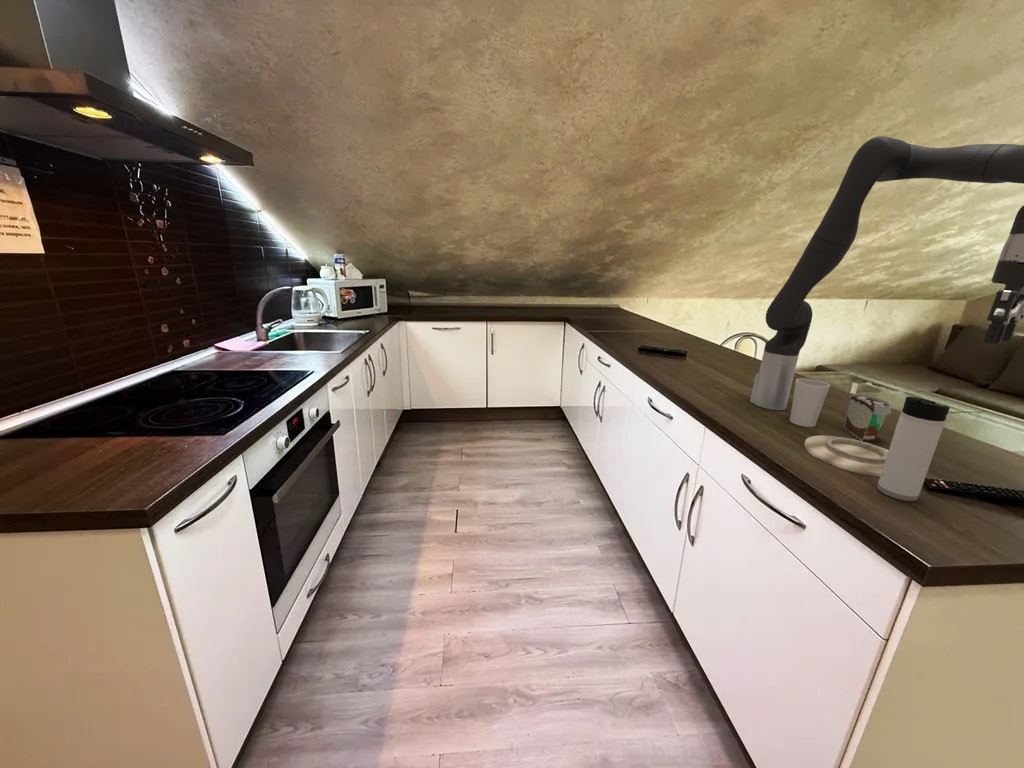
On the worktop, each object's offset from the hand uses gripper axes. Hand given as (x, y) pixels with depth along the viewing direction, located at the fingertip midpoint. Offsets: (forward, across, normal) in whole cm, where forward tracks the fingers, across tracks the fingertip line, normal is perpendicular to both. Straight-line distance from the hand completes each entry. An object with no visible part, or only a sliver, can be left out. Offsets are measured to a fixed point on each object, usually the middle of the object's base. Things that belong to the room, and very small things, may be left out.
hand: (996, 341), depth 88 cm
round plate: (+30, +11, -14) cm, 35 cm away
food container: (+30, -8, -18) cm, 36 cm away
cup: (+30, -2, -32) cm, 44 cm away
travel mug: (+30, +23, -2) cm, 38 cm away
